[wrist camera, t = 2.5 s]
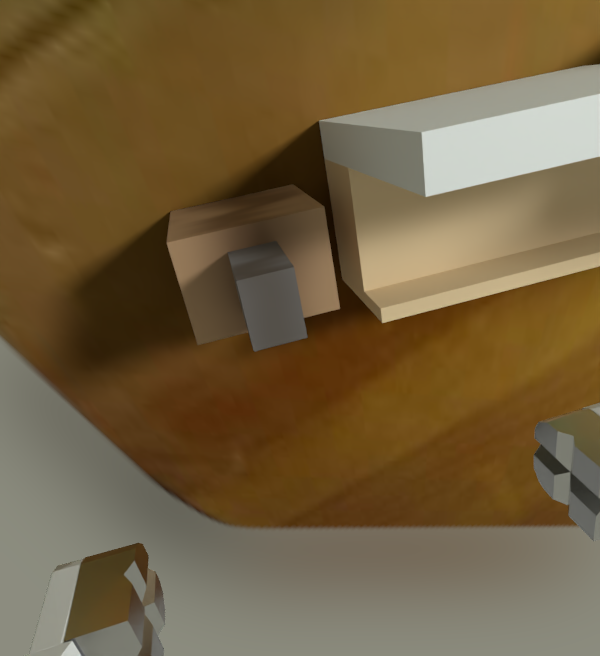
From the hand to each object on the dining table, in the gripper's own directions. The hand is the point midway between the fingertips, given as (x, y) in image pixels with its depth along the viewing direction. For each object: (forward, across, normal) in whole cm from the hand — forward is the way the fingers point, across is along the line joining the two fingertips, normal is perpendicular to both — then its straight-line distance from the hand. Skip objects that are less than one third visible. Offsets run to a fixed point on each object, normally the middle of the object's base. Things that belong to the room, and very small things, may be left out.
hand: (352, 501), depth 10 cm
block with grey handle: (+21, 0, 0) cm, 21 cm away
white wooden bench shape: (+21, -14, -1) cm, 25 cm away
